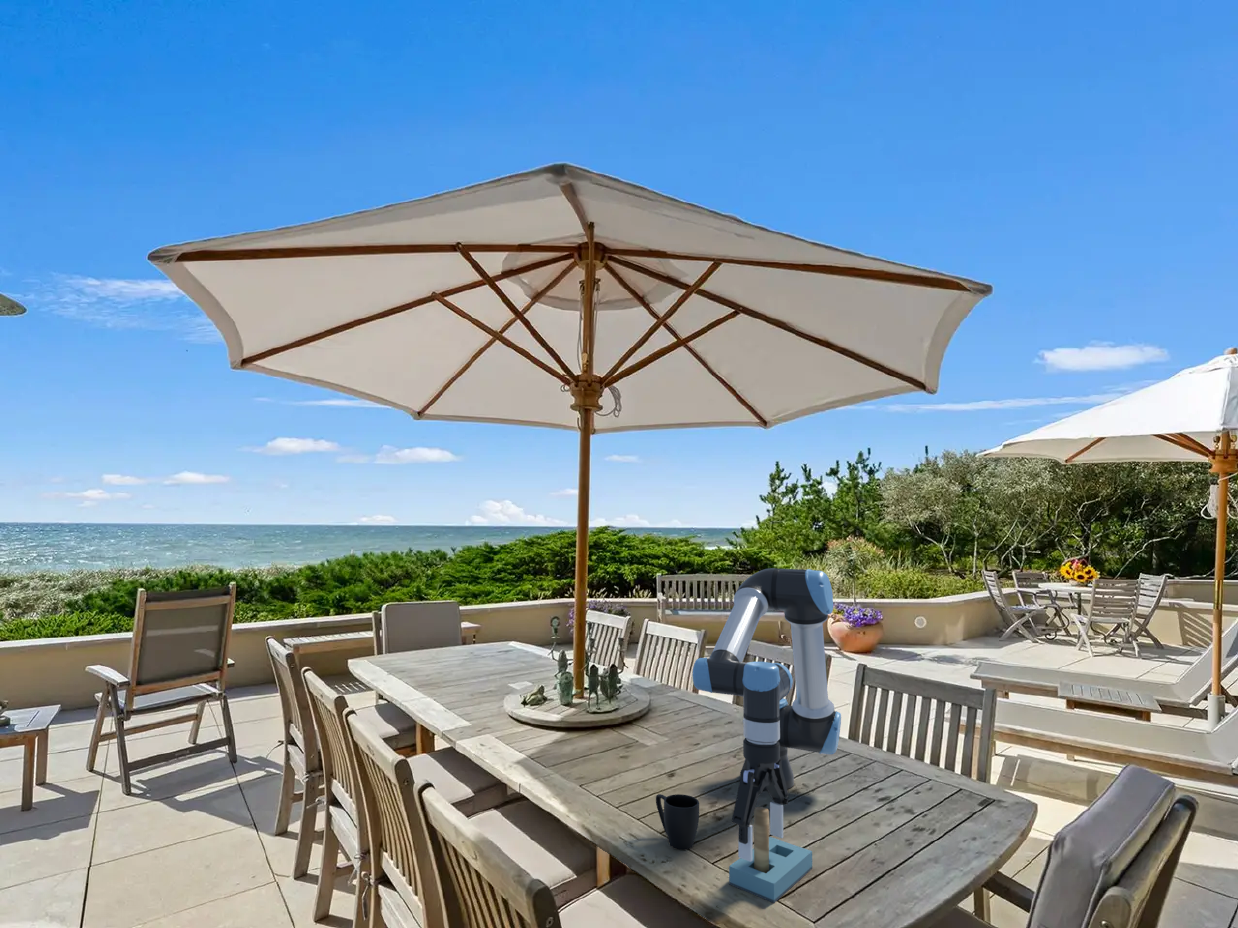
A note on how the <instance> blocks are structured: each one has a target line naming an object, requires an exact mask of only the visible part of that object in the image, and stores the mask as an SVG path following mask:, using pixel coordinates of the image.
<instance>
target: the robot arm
mask: <svg viewBox="0 0 1238 928" xmlns="http://www.w3.org/2000/svg"><path fill="white" fill-rule="evenodd" d="M833 595H834V594H833V589H832V584H831V581H830V579H829V576H828V575H827V573H826V572H824V571H822V570H813V569H809V568H807V569H802V568H801V569H799V568H795V569H793V568H777V567H775V568H774V567H772V568H771V567H769V568H765V569H762V570H759V571H757V572H755V573H753V574H751V575H750V576H749V577H748V578H746V579H745V580H744V581H743V582H742V583H741V585H739V586H738V588H737V590H736V592H735V593H734V596H733V607H732V609H731V611H730V613H729V616H728V617H727V619H726V621H725V624H724V626H723V629H722V631H721V632H720V635H719V637H718V639H717V641H716V643H715V646H714V648H713V650H712V652H711V654H710V656H709V658H708V657H699V658H697V659H695V662H694V665H693V668H692V682H693V686H694V687H695V689H696V690H698V691H703V692H707V693H710V694H718V695H720V694H721V695H729V696H737V697H742V698H743V699H742V700H743V701H742V702H743V704H742V705H743V719H742V724H743V737H744V738H743V739H742V742H743V743H742V748H743V749H742V751H743V752H742V755H743V758H744V761H743V764H742V768H741V770H740V773H739V784H738V789H737V794H736V798H735V804H734V807H733V812H732V818H731V822H732V824H735V825H737V826H738V847H737V848H738V851H737V852H738V859H740V858H742V859H744V860H747V861H750V862H751V861H752V849H753V825H752V824H751V823H752V819H753V817H754V810H755V808H756V806H757V802H758V800H759V797H760V795H762V794H763V791H767V793H768V795H769V796H770V798H771V801H770V802H769V836H770V835H771V836H774V837H776V838H779V839H783V838H784V805H785V806H787V805H788V803H789V799H788V797H789V789H791V788H792V787H794V784H795V774H794V772H793V768H792V765H791V763H790V759H789V755H788V749H793V750H800V751H805V752H811V753H817V754H819V755H821V754H824V755H833V754H835V753H837V749H838V747H839V746H838V745H839V739H840V733H841V725H842V713H841V712H840V711H835V705H834V703H833V701H832V700H830V699H829V695H828V681H827V665H826V652H825V638H824V636H825V635H824V623H826V621H827V620H828V618H829V617H828V616H829V615H831V614H832V613H833V611H834V599H833V598H834V596H833ZM768 611H779V612H780V611H782V612H784V613H783V615H784V619H785V620H786V621H787V622H788V623H789V624H790V628H791V629H790V632H791V642H792V653H793V667H794V668H793V669H794V679H795V691H796V692H795V693H796V698H795V699H794V701H792V703H791V705H789V702H788V701H787V699H786V698H785V697H787V696H788V695H789V693H790V691H791V689H792V687H793V683H794V680H793V676H792V673H791V671H790V670H789V668H788V667H787V666H785V665H784V664H782V663H780V662H779V663H778V662H769V661H768V662H767V661H750V662H749V661H748V662H743V661H744V659H745V656H746V653H747V652H748V648H749V646H750V643H751V641H752V639H753V637H754V634H755V632H756V629H757V626H758V623H759V621H760V619H761V618H762V617H763V616H765V614H767V612H768Z"/></svg>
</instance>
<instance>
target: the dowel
mask: <svg viewBox="0 0 1238 928" xmlns="http://www.w3.org/2000/svg"><path fill="white" fill-rule="evenodd" d="M769 837H770V809H768V808H766V807H764V806H757V807H756V806H755V810H754V813H753V848H754V869H756V870H758V871H761V872H763V873H767V872H769Z"/></svg>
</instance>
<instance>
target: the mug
mask: <svg viewBox="0 0 1238 928" xmlns="http://www.w3.org/2000/svg"><path fill="white" fill-rule="evenodd" d="M662 800H663V806H662ZM655 804H656V808H657V811H658V816H659V818H660V822H661V824H662V827H663V831H664V832H665V834H666V836H667V840H668V845H669V847H671V848H672V849H673V850H678V851H688V850H690V849H692V848H693V847H694V844H695V843H694V842H695V839H696V838H697V837H696V836H697V833H698V828H699V821H700V800H699V799H697V798H696V797H694V796H692V795H689V794H680V793H679V794H678V793H677V794H670V795H668V796H666V795H664V794H661V793H660V794H657V795H656V796H655Z"/></svg>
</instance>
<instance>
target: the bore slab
mask: <svg viewBox="0 0 1238 928" xmlns="http://www.w3.org/2000/svg"><path fill="white" fill-rule="evenodd" d="M812 869H813V851H812V850H810V849H807V848H804V847H801V846H798V845H795V844H792V843H790V842H787V841H784V840H781V839H778V838H775V837H772V836H769V872H767V873H763V872H761V871H758V870H756V869H754V847H752V861H751V862H750V861H747V860H744V859H742V858H738V859H737V860H735V861H734V862H732V863H731V864H729V867H728V871H729V872H728V876H729V878H728V884H729V886H732V887H735V888H737V889H739V890H742V891H743V892H747V893H749V894H752V895H754V896H756V897H759V898H761V899H763V900H766V901H768V902H771V903H773V904H775V903H776V902H777V901H778V900H779V899H780V898H782V896H784V895H785V894H786V893H788V891H789V890H790V889H791V888H793V886H795V885H796V884H797V883H798V882H799V881H801V879H802V878H803V877H805V876H806V875H807V874H808V873H809V872H810V871H811V870H812Z"/></svg>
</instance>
